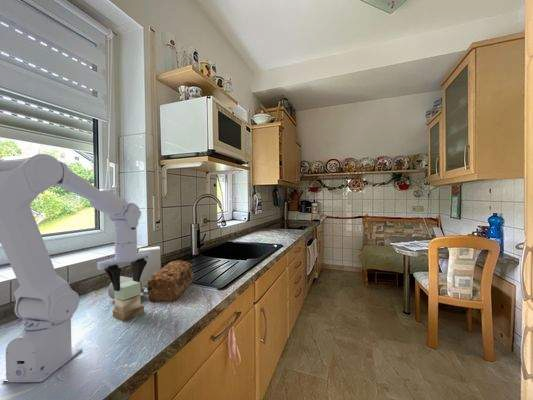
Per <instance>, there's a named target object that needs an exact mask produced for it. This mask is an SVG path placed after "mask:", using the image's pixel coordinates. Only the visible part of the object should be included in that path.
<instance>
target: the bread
mask: <svg viewBox="0 0 533 400" xmlns="http://www.w3.org/2000/svg"><path fill="white" fill-rule="evenodd" d="M194 272H195V271H194V266H193V264H191V263H190V262H188V261H185V260H181V259H180V260H172V261H170V262H169V263H167V264H166V265H164V266H163V267H161V269H160V270H159V271H157V272H156V273H154V274H153V275H152V276H151V277H150V278H149V279H148V282H147V286H146V287H147V288H146V290H147V296H148V301H150V302H156V303H157V302H160V301H163V302H164V301H165V302H176V301H177V300H178V299H179V298H180V297H181V296H182V295H183V294H184V293H185V291H186V290H187V289H188V288H189V287H190V286H191V284H192V283H193V278H194Z"/></svg>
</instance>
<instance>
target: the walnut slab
mask: <svg viewBox="0 0 533 400" xmlns="http://www.w3.org/2000/svg"><path fill="white" fill-rule="evenodd" d="M144 313H145V306H144V305H142V304H141V307H139V308H136V309H134V310H131V311H129V312H126V313H124V314H122V313H121V312H119V311H117V310H115V308H114V309H112V317H113V318H115V319H116V320H118V321H121V322H126V321H128V320H129V321H130V320H131V319H133V318H135V317H136V318H137V316H140V315H142V314H144Z"/></svg>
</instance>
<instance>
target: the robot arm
mask: <svg viewBox="0 0 533 400" xmlns="http://www.w3.org/2000/svg"><path fill="white" fill-rule="evenodd" d="M53 186H54V187H60V188H62V189H63V190H66V191H68V192H70V193H73V194H75V195H78V196H80V197H82V198H84V199H86V200H88V201H89V205H90V206H91V208H93V209H95V210H97V211H100V212H101V213H103V214H106V215H107V216H108V217H109V220H110V221H112V222H113V223H114V225H113V226H114V228H113V229H114V257H111V258H108V259H106V260H102V261H97V263H96V269H97V270H98V271H99V270H100V271H103V270H104V272H105V273H106V274H107V276H108V277H109V278H108V279H109V280H110V283H111V282H112V285H113V288H114V290H115V291H120V276H122V275H121V273H122V268H120V266H121V265H125V264H128V263H129V264H131V270H132V278H133V281H136V282H140V278H141V274H142V272H143V269H144V267H145V266H146V264H147V261H146V260H145V259H146V258H147V259H149V258H151V252H143V253H138V239H137V238H138V235H137V233H138V232H137V231H138V230H137V227H138V225H139V221H140V218H141V216H142V211H141V210H140V208H139V207H140V206H138V205H137V204H136V203H134V202H128V201H126V198H124V197H123V198H122V197H120V196H118V195H117V194H115V193H114V190H112V189H108V188H102V189H99V188H97V187H95V186H94V185H92V184H91V183H90V182H88V181H87V180H86V179H84V178H82V177H81V176H80V175H78V174H77V173H75V172H74V171H72V170H71V169H70V168H69V166H68V165H67V164H66V163H64V162H62V161H59V160H58V159H57V158H56V157H54V156H52V155H50V154H46V153H37V154H33V155H30V154H29V155H20V156H11V155H10V156H4V157H0V245H1V246H2V249H3V251H4V253H5V255H6V258H7V260H8V262H9V264H10V267H11V268H12V272H13V274H14V276H15V278H16V280H17V282H18V284H19V287H18V288H17V289H16V290H15V291H14V292H13V296H14V298H15V304H14V314H15V315H16V317H17V318H18V319H22V325H23V328H22V331H21V332H20V333H19V334H18V335H17V336H15V337H14V338H13V339H12V340H10V341H9V342H8V344H7V346H6V348H5V377H6V380H8V381H13V382H12V383H42V382H43V381H45V380H46V379H47V378H49V377H50V376H51V375H53V373H55V372H56V371H57V370H59V369H60V368H61V367H63V366H64V365H66V363H68V362H69V361H70V360H72V359H73V358H74V357H75V356H77V354H79V353H80V352H81V351H83V347H72V346H73V345H72V318H73V316H74V314H75V313H76V311H77V309H78V308H79V304H80V296H79V294H78V292H76V291H75V290H73V289H72V287H71V286H70V284H69V282H68V281H67V280H66V279H64V278H63V277H61V276H60V275H58V274H57V272H56V268H55V266H54V263H53V262H52V259H51V256H50V254H49V252H48V248H47V247H46V244H45V240H44V238H43V236H42V233H41V230H40V228H39V226H38V224H37V220H36V218H35V216H34V213H33V211H32V208H31V204H32V203H33V202H34V201H35V199H36V198H37V197H38V196H39V195H41V194H42V193H43V192H45V191H47V190H48V189H50V188H52V187H53Z"/></svg>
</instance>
